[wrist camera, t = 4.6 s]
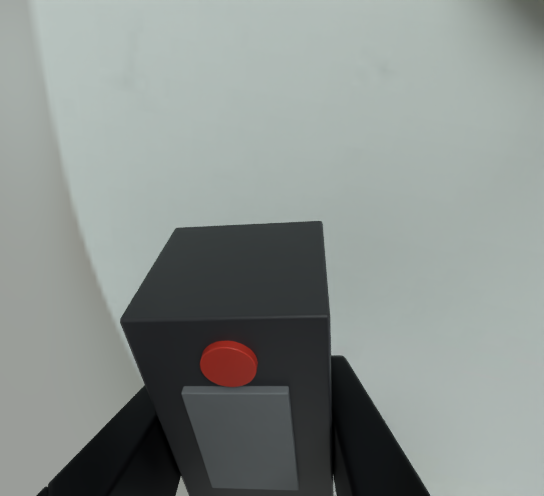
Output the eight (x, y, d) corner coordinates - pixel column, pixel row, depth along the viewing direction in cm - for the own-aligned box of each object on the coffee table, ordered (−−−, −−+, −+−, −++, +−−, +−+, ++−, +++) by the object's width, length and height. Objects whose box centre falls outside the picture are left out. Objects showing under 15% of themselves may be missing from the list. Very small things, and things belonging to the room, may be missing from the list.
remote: (327, 416, 11) (334, 540, 9) (223, 415, 12) (198, 533, 9) (322, 219, 8) (331, 323, 5) (175, 226, 8) (112, 327, 6)
